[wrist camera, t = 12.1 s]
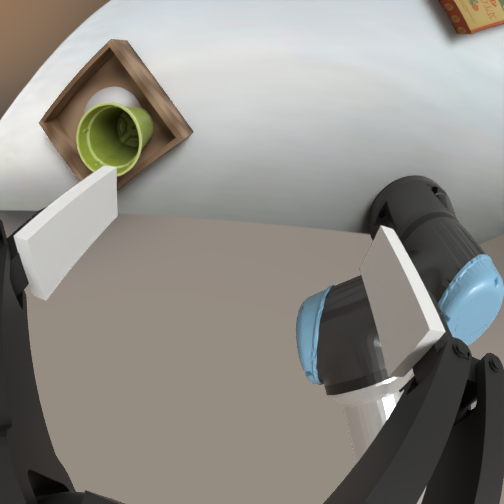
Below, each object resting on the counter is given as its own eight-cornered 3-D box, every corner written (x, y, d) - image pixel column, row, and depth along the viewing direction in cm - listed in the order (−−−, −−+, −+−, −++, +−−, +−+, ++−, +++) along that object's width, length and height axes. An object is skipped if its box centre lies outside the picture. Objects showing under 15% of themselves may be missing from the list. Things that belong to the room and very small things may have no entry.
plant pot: (167, 94, 33) (141, 100, 26) (165, 158, 39) (142, 179, 31) (108, 97, 33) (74, 105, 26) (110, 157, 39) (79, 176, 31)
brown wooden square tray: (193, 131, 38) (184, 139, 34) (112, 193, 44) (99, 205, 40) (126, 40, 29) (111, 39, 26) (55, 116, 36) (38, 122, 32)
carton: (429, -12, 20) (442, -18, 17) (487, -24, 14) (502, -27, 10) (456, 35, 24) (472, 34, 20) (510, 18, 17) (526, 19, 14)
